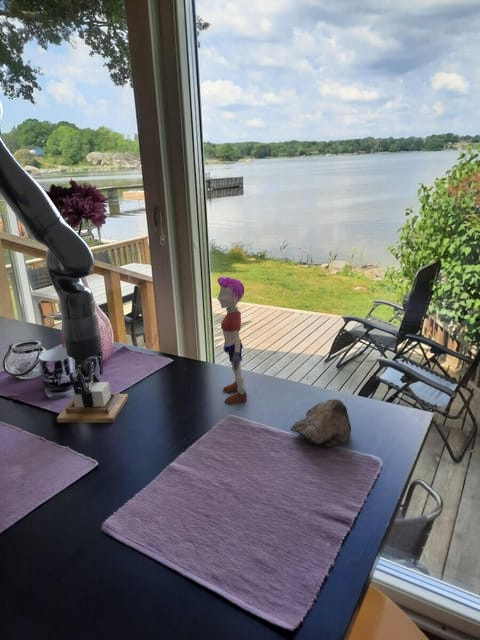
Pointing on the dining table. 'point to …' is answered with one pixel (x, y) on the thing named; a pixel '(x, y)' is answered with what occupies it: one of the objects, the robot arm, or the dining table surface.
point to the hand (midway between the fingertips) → (92, 400)
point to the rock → (325, 424)
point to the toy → (232, 334)
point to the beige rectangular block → (95, 395)
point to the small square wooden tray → (94, 411)
